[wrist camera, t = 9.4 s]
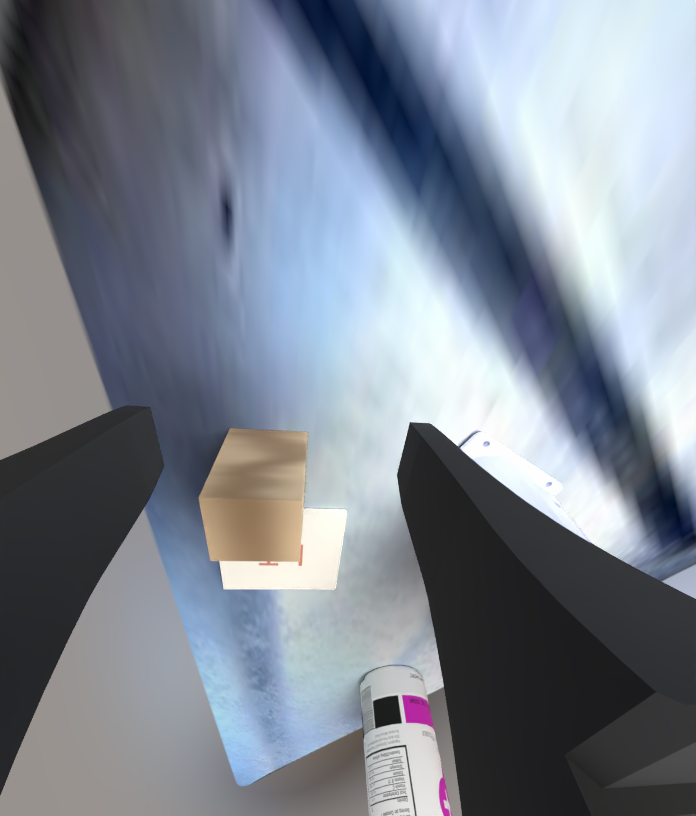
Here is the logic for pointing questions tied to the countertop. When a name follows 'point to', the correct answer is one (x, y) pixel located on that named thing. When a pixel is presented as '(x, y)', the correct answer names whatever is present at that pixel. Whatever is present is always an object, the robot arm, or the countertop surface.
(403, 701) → the supplement can
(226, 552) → the oak cube
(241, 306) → the countertop surface
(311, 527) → the tile
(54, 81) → the countertop surface
